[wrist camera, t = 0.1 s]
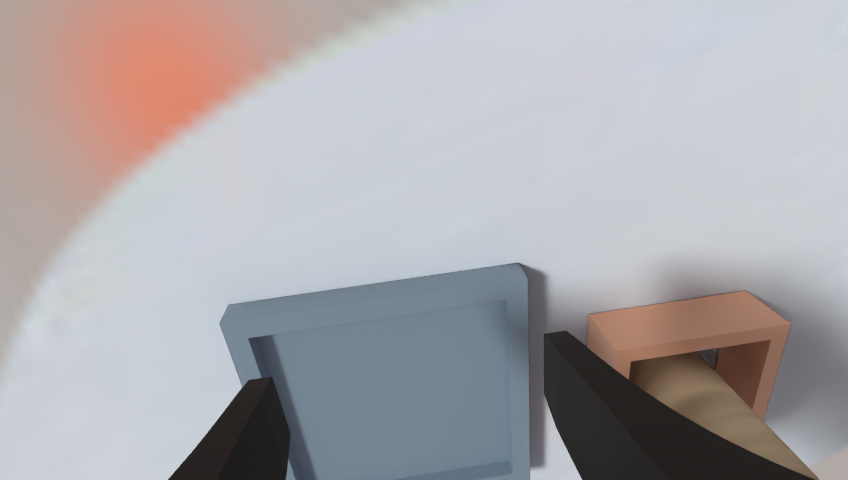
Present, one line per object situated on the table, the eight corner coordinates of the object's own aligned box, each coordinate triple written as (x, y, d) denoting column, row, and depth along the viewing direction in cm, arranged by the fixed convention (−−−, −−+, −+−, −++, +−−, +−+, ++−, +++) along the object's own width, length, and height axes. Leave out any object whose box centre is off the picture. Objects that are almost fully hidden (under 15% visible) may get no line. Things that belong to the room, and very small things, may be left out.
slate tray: (522, 460, 29) (530, 482, 28) (295, 498, 28) (291, 522, 27) (518, 263, 23) (527, 278, 22) (228, 304, 22) (219, 323, 21)
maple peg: (687, 386, 28) (807, 526, 20) (621, 396, 28) (717, 542, 20) (697, 331, 26) (833, 462, 18) (627, 342, 26) (735, 479, 18)
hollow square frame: (718, 409, 29) (754, 449, 26) (582, 431, 29) (604, 474, 26) (746, 290, 25) (791, 323, 22) (588, 314, 25) (615, 350, 22)
